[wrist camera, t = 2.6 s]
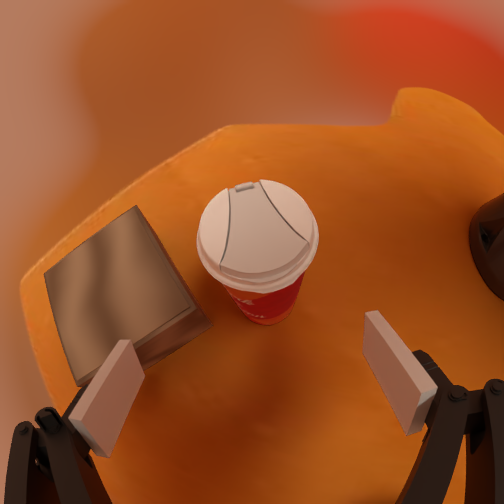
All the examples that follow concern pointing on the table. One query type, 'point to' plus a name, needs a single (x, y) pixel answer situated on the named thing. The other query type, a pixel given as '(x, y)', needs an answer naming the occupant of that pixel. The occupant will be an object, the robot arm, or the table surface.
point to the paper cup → (258, 246)
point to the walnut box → (121, 298)
